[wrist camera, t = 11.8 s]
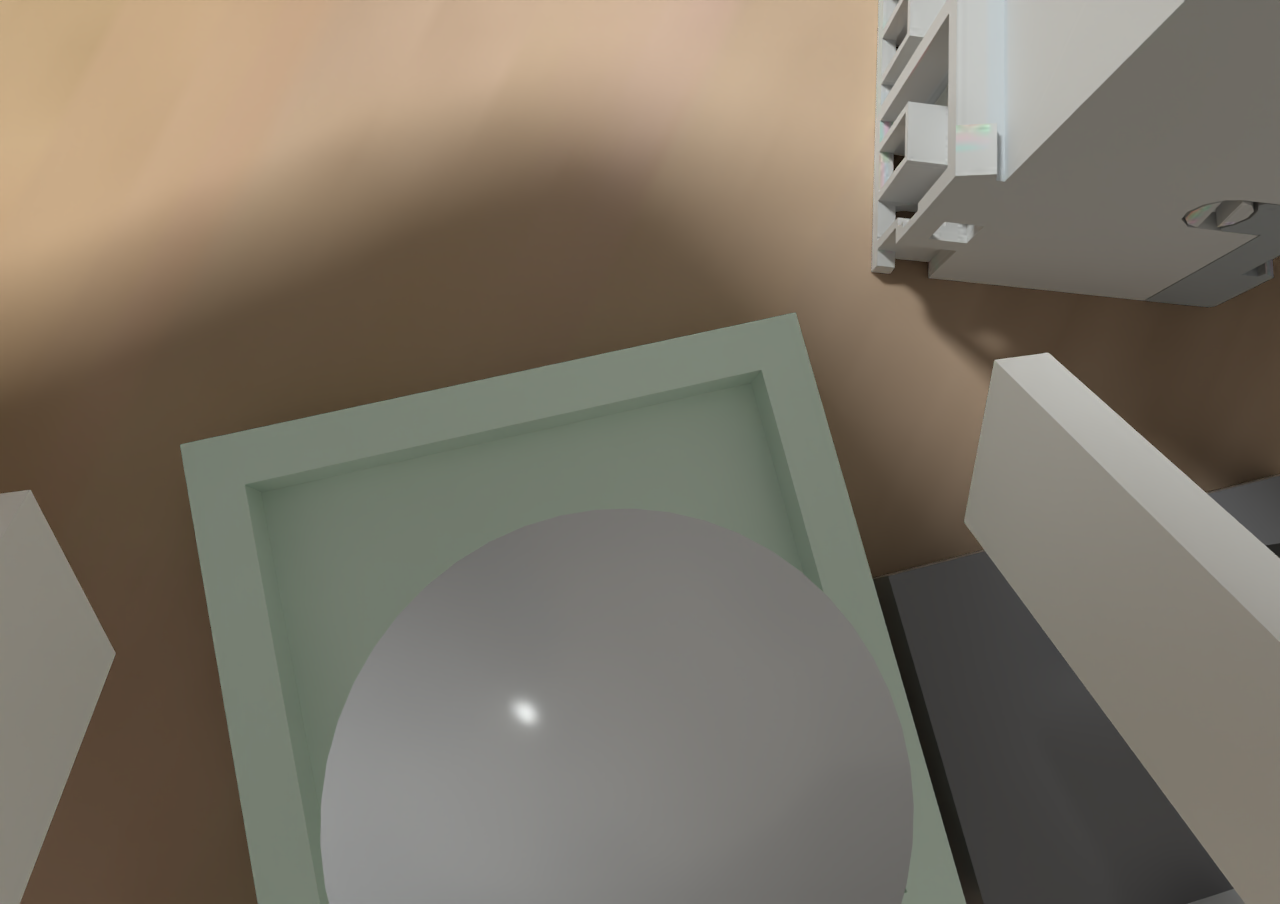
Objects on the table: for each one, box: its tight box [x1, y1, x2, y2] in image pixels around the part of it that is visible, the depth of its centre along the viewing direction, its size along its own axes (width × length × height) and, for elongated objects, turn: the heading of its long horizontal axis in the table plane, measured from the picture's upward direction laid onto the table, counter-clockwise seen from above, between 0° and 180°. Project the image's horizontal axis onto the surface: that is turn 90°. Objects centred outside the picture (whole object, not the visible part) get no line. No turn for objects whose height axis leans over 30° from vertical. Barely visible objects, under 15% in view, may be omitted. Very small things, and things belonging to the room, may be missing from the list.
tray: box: [180, 312, 966, 904], centre depth 18 cm, size 12×12×2 cm
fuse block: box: [873, 474, 1280, 904], centre depth 18 cm, size 10×10×4 cm
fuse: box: [320, 509, 914, 904], centre depth 12 cm, size 4×4×12 cm
